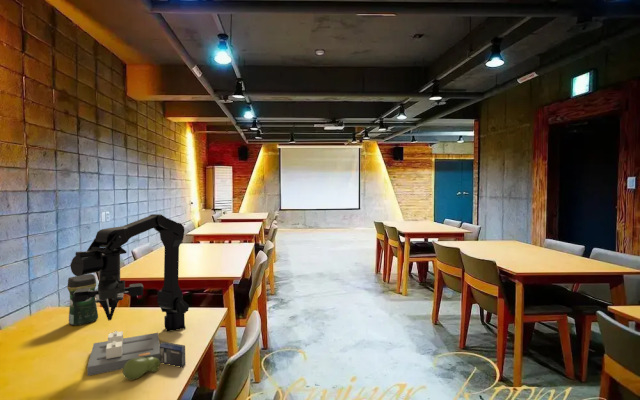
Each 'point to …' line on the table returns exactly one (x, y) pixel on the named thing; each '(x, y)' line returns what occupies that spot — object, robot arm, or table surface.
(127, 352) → the switch panel
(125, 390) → the table surface
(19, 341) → the table surface
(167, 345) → the mini dv tape
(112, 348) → the tab
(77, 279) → the coffee jar
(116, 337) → the tab
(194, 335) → the table surface
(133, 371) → the pear
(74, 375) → the table surface
